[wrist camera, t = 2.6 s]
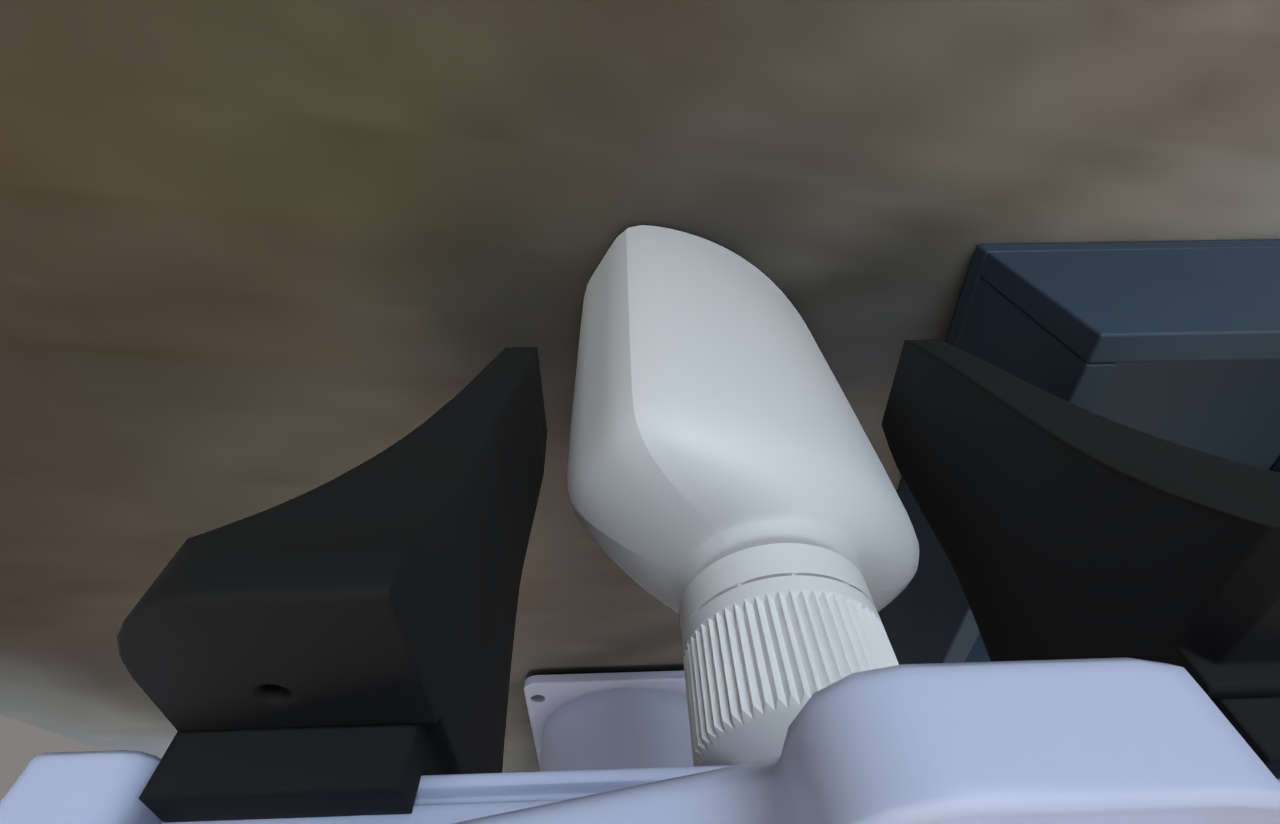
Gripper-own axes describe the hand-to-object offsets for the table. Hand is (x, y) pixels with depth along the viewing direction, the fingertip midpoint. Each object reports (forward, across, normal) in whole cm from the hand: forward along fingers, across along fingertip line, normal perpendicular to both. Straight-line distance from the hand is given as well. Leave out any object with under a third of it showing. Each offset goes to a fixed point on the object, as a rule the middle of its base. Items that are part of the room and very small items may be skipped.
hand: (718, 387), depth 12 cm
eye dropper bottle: (+4, 0, 0) cm, 4 cm away
